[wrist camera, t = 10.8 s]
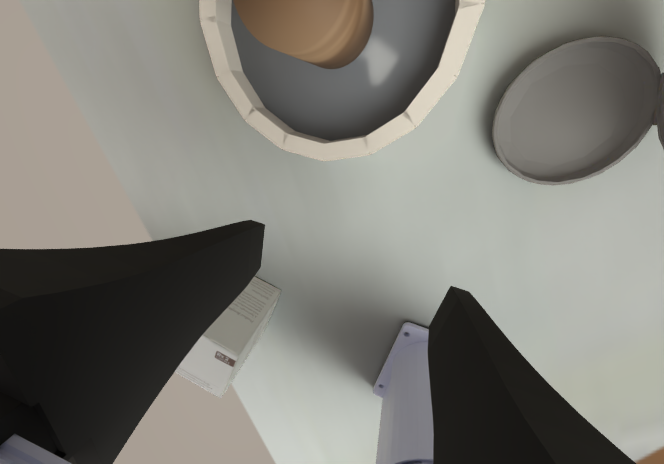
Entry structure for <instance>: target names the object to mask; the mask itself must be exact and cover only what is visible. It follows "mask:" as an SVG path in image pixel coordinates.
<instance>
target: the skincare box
mask: <svg viewBox="0 0 664 464" xmlns="http://www.w3.org/2000/svg"><path fill="white" fill-rule="evenodd" d="M280 294H281V290H279V289H278V288H276V287H274V286H272V285H270V284H268V283H266V282H264V281H262V280H260V279H258V278H256V277H253V279H252V280H251V282H250V283H249V284H248V286H247V287H246V288H245V289H244V290H243V291H242V292H241V294H240V295H239V296H238V297H237V298H236V299H235V300H234V301H233V302H232V303H231V304H230V305H229V307H228V308H227V309H226V310H225V311H224V312H223V313H222V314H221V315H220V316H219V317H218V318H217V319H216V320H215V322H214V323H213V324H212V325H211V326H210V327H209V328H208V329H207V330H206V331H205V333H204V334H203V335H202V336H201V337H200V338H199V340H198V341H197V342H196V344H195V345H194V346H193V348H192V349H191V350H190V351H189V353H188V354H187V355H186V357H185V358H184V359H183V361H182V362H181V363H180V365H179V366H178V368H177V369H176V370H175V373H177V374H179V375H181V376H182V377H184V378H186V379H188V380H189V381H191V382H193V383H194V384H196V385H198V386H200V387H202V388H203V389H205V390H207V391H208V392H210V393H212V394H213V395H215V396H217V397H219V398H221V397H222V396H223V395H224V393H225V391H226V390H227V389H228V387H229V385H230V384H231V382H232V381H233V379H234V378H235V376H236V375H237V373H238V371H239V370H240V368H241V367H242V365H243V364H244V362H245V360H246V359H247V357H248V356H249V354H250V353H251V351H252V349H253V348H254V346H255V345H256V343H257V342H258V340H259V339H260V337H261V335H262V334H263V332H264V331H265V328H266V326H267V324H268V322H269V319H270V317H271V315H272V312H273V310H274V308H275V305H276V303H277V301H278V298H279V296H280Z"/></svg>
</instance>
